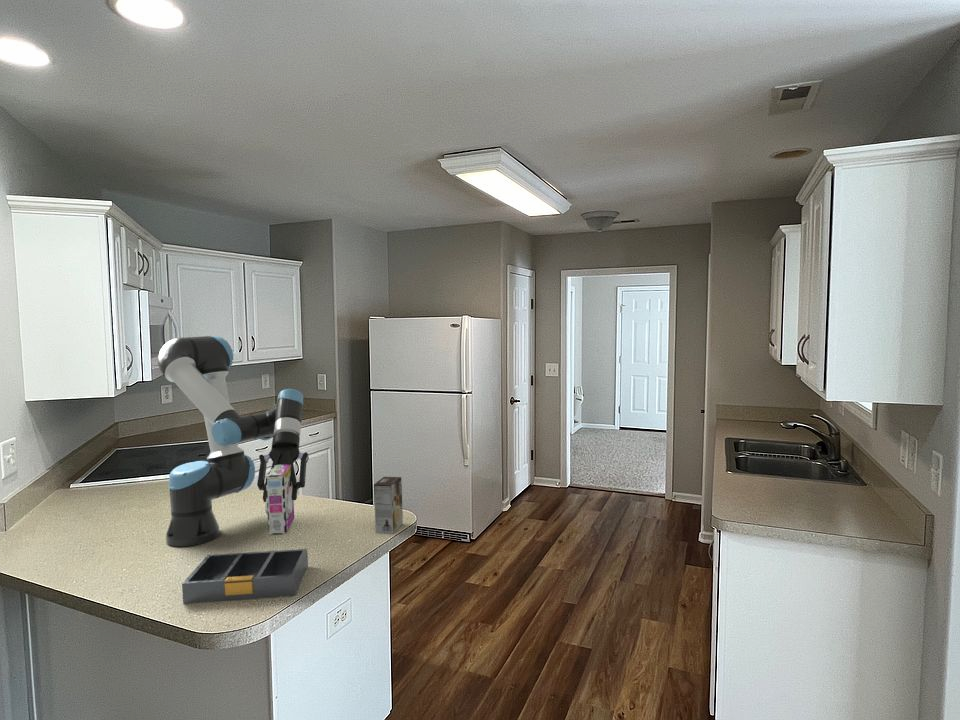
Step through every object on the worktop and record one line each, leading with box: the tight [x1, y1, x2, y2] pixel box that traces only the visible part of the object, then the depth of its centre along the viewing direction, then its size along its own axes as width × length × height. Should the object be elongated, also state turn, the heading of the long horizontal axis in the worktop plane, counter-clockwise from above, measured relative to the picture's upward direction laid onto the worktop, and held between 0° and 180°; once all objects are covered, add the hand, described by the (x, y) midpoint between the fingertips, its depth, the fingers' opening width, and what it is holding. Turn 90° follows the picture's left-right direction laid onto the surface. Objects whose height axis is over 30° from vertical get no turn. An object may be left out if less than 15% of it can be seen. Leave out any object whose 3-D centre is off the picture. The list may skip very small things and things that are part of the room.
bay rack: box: [181, 548, 309, 605], centre depth 147 cm, size 26×17×5 cm, turn 96°
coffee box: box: [373, 476, 404, 534], centre depth 184 cm, size 9×6×16 cm
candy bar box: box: [265, 464, 295, 536], centre depth 155 cm, size 11×5×16 cm, turn 7°
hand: (278, 511), depth 152 cm, fingers closed on candy bar box, 5 cm apart
